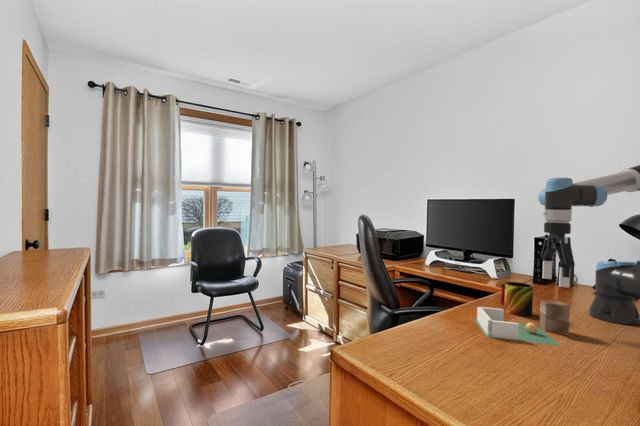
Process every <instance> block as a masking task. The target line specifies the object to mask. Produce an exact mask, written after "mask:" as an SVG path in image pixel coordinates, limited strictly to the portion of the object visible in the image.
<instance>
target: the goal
mask: <svg viewBox="0 0 640 426" xmlns="http://www.w3.org/2000/svg"><path fill="white" fill-rule="evenodd" d="M504 310H505V309H504V308H498V307H497V308H496V307H495V308H494V307H485V306H477V307H476V319H477V321H478V322H479V324H480V325H481V327H482V328H483V329H484V331H485V332H486V334H487V335H488V336H490V337H499V338H507V339H515V340H518V335H519V324H520V323H518V322H511V321H505V319H504V318H505V312H504ZM490 337H489V338H490ZM507 339H506V340H507ZM515 340H514V341H515Z"/></svg>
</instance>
